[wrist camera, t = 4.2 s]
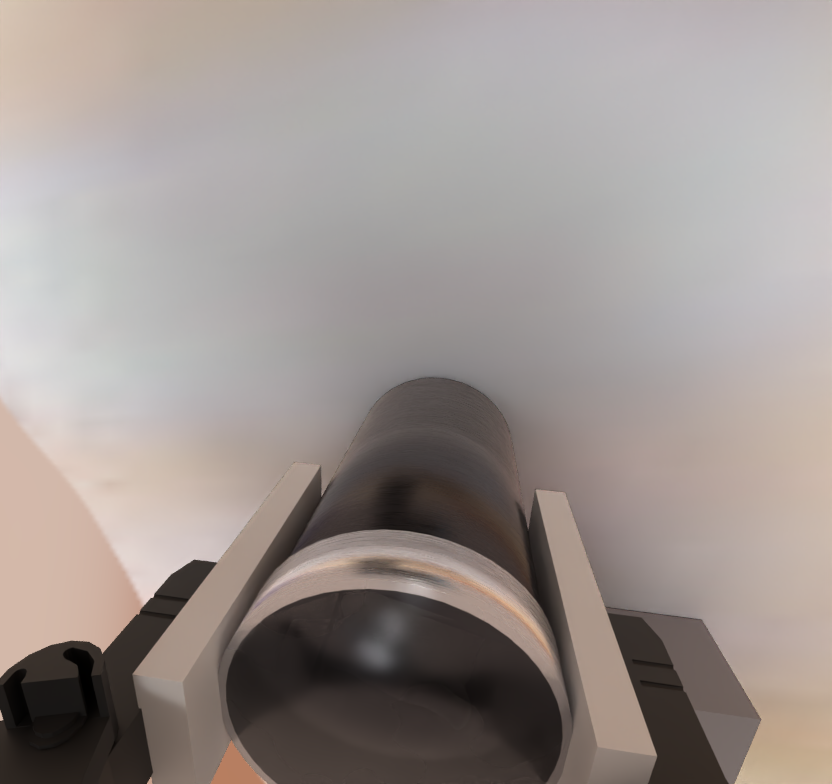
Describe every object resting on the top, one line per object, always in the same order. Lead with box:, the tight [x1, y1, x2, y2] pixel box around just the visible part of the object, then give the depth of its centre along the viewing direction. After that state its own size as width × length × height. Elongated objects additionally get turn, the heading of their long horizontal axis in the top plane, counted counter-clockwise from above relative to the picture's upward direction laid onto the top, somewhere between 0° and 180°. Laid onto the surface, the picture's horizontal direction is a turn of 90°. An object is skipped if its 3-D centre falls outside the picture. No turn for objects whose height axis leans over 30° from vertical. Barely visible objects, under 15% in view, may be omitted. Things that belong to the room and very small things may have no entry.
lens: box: [218, 378, 573, 784], centre depth 12 cm, size 6×6×10 cm
